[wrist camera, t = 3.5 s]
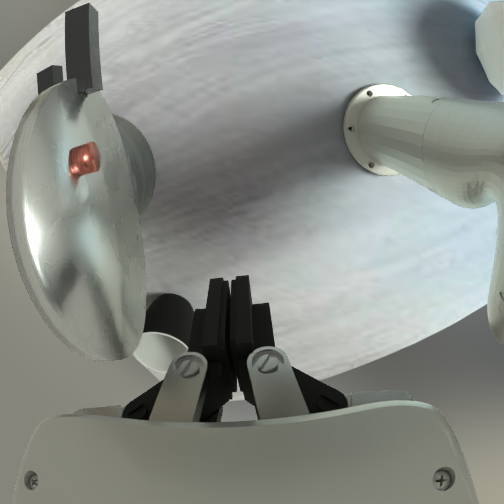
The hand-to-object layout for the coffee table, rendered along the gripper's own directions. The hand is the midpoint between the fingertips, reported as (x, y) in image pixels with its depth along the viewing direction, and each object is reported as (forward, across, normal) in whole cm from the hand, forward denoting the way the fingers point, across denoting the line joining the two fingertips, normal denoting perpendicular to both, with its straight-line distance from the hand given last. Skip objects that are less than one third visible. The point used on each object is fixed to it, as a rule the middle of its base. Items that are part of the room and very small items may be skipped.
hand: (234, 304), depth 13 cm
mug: (+26, +13, +22) cm, 36 cm away
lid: (+6, +9, -6) cm, 12 cm away
